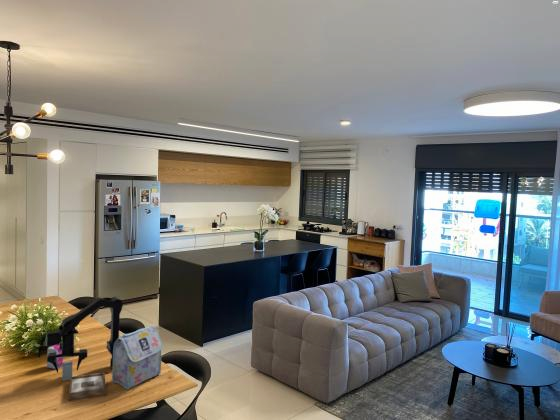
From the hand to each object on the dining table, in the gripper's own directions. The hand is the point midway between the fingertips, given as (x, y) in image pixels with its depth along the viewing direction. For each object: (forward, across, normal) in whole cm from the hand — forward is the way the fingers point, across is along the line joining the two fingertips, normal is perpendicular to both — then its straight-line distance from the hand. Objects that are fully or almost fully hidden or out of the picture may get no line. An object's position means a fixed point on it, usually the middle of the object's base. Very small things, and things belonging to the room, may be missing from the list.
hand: (67, 371), depth 217 cm
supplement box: (+4, +7, -16) cm, 18 cm away
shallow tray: (+4, -10, +16) cm, 19 cm away
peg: (+4, 0, 0) cm, 4 cm away
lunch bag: (+4, -34, +13) cm, 37 cm away
